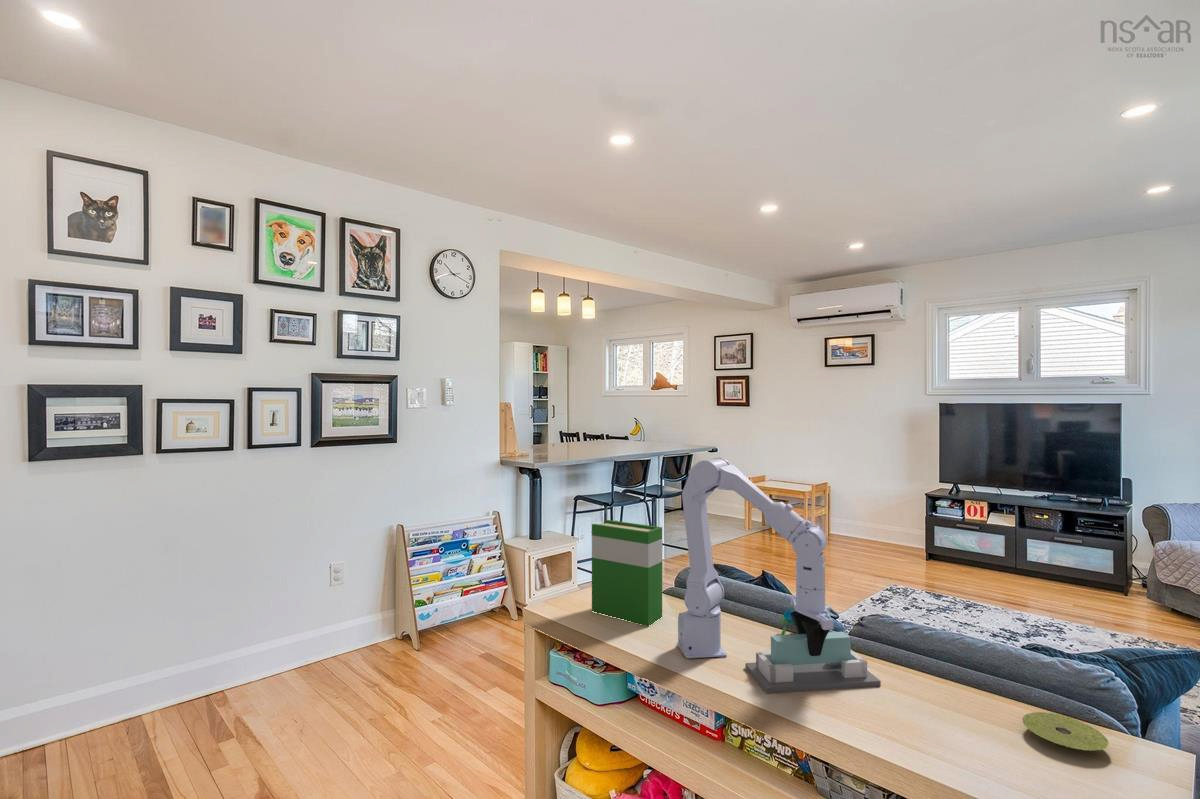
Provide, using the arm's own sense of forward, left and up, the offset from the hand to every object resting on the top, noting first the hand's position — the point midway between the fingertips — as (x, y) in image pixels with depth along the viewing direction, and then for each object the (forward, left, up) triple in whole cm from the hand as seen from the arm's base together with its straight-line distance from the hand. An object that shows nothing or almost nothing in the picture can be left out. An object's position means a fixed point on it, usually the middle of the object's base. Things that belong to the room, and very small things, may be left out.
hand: (810, 651), depth 119 cm
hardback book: (-32, +39, -5) cm, 51 cm away
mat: (+31, -27, -5) cm, 41 cm away
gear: (+7, +19, -6) cm, 21 cm away
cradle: (0, 0, -5) cm, 5 cm away
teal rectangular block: (0, 0, -2) cm, 2 cm away
